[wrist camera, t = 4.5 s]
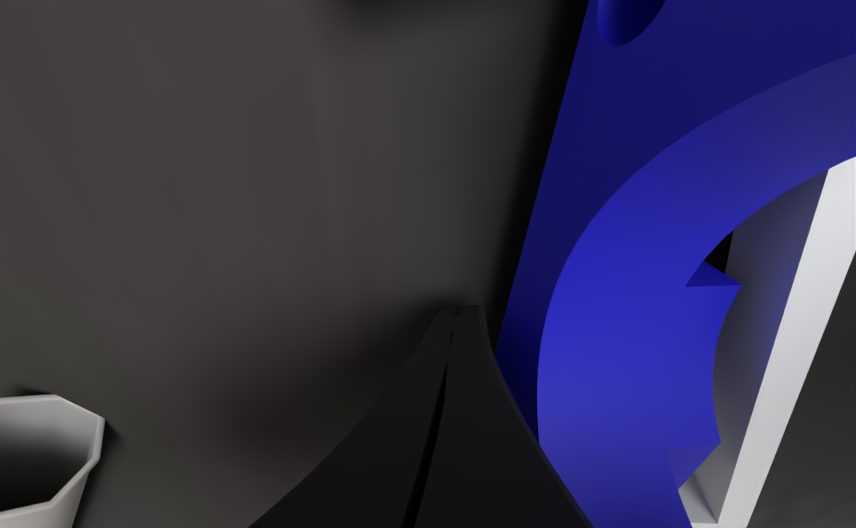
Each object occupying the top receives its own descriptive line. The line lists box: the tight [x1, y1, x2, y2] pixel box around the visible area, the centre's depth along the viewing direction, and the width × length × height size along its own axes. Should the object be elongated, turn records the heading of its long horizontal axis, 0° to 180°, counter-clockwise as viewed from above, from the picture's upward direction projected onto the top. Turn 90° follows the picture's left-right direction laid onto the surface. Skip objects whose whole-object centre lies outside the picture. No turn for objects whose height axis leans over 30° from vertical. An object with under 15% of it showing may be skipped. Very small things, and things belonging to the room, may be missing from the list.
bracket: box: [678, 157, 856, 528], centre depth 9 cm, size 8×18×2 cm, turn 13°
